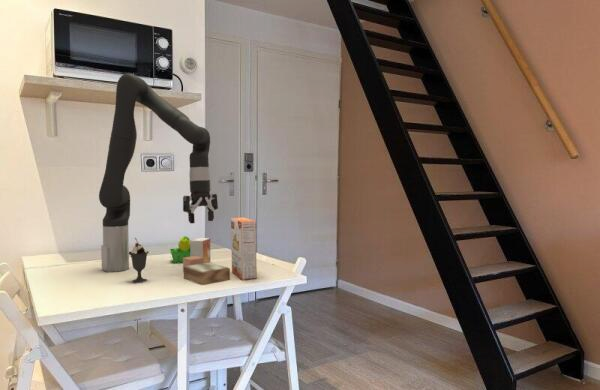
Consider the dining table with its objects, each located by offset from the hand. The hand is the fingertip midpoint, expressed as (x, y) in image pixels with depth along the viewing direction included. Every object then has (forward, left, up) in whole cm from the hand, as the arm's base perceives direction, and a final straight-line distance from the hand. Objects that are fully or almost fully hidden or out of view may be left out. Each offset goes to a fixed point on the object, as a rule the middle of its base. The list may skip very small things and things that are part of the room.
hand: (201, 222), depth 168 cm
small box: (+6, +12, -19) cm, 24 cm away
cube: (-3, +2, -19) cm, 19 cm away
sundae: (-24, +2, -19) cm, 30 cm away
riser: (-5, -11, -19) cm, 22 cm away
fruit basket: (+4, +22, -19) cm, 30 cm away
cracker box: (+8, -16, -19) cm, 26 cm away
